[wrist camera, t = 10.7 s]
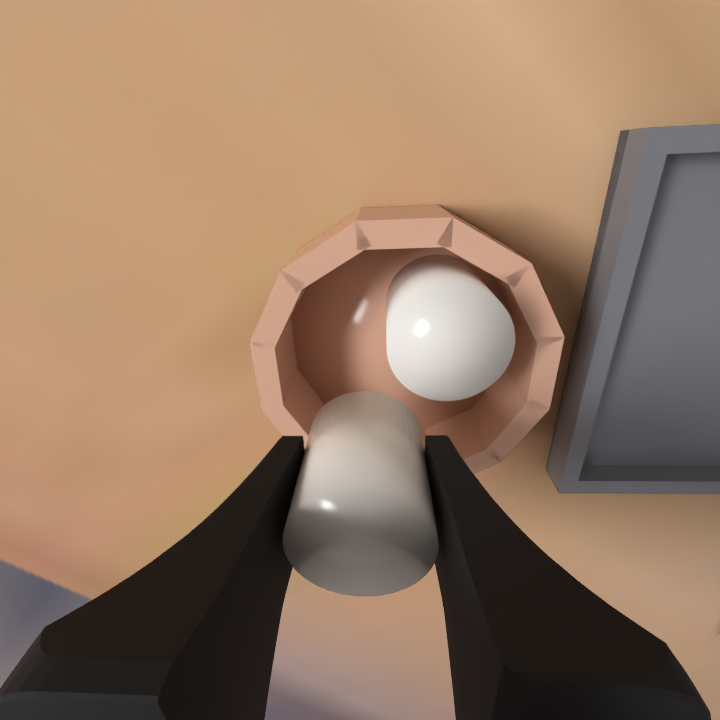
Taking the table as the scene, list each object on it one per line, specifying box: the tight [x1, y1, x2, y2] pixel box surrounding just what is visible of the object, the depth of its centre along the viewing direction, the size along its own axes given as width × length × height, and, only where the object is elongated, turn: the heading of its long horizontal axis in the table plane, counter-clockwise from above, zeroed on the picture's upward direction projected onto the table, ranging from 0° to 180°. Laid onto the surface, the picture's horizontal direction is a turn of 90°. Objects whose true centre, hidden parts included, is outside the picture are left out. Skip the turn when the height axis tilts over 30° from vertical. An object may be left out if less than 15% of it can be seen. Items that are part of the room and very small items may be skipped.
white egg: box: [386, 254, 515, 401], centre depth 13 cm, size 4×4×4 cm
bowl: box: [249, 205, 565, 473], centre depth 15 cm, size 10×10×3 cm
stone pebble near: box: [283, 391, 439, 596], centre depth 11 cm, size 4×4×4 cm
